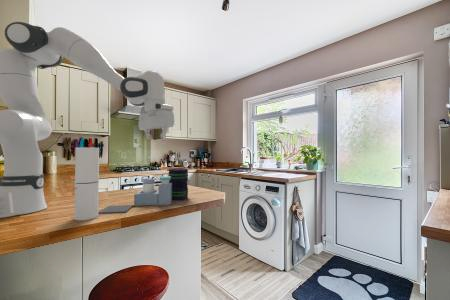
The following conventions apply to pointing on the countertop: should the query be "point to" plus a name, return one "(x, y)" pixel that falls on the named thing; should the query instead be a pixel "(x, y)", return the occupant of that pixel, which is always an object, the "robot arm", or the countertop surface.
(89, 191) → the cylindrical container
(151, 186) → the filter cartridge
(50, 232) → the countertop surface
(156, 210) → the countertop surface
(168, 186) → the filter housing
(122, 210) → the rubber mat
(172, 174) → the storage jar
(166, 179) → the plunger
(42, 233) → the countertop surface
